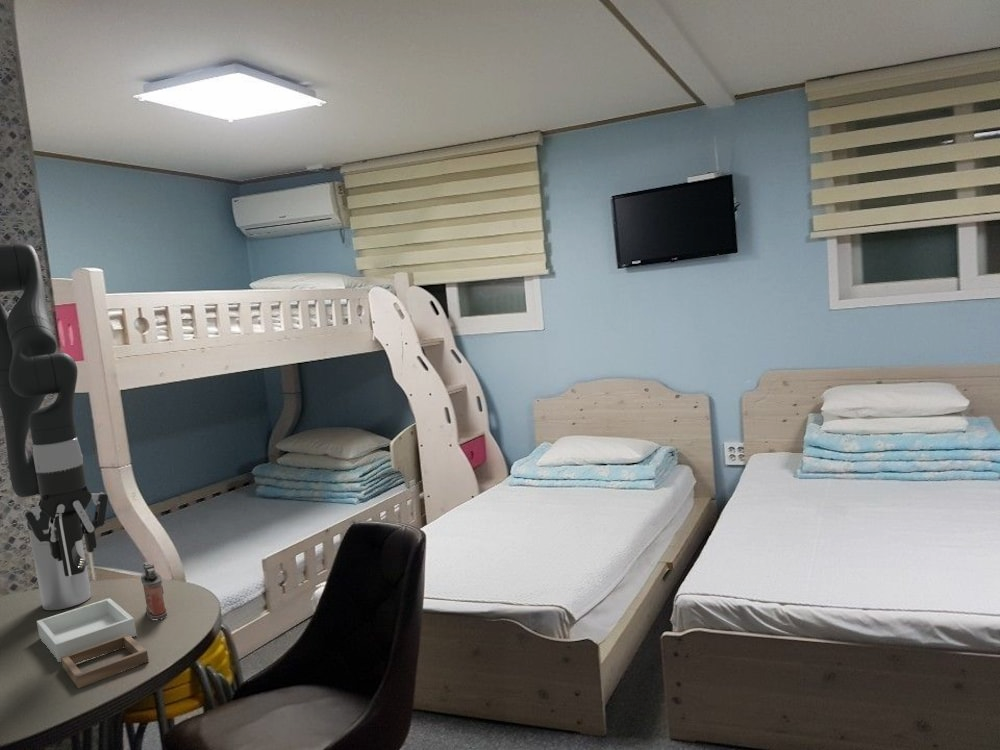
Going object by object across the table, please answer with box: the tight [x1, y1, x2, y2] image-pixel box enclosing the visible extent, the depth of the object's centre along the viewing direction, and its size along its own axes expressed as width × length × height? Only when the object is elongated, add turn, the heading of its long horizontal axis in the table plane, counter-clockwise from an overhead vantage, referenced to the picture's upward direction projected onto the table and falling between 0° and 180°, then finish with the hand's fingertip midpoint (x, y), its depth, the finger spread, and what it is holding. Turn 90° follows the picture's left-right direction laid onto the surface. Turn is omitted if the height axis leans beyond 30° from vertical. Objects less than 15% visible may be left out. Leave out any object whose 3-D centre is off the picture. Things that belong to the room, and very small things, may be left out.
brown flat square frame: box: [61, 634, 149, 689], centre depth 137 cm, size 11×11×2 cm
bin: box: [36, 597, 138, 662], centre depth 150 cm, size 16×13×4 cm
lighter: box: [140, 561, 168, 620], centre depth 158 cm, size 8×3×10 cm, turn 34°
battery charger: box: [55, 511, 87, 576], centre depth 146 cm, size 7×4×11 cm, turn 23°
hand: (75, 555), depth 147 cm, fingers closed on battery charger, 4 cm apart
